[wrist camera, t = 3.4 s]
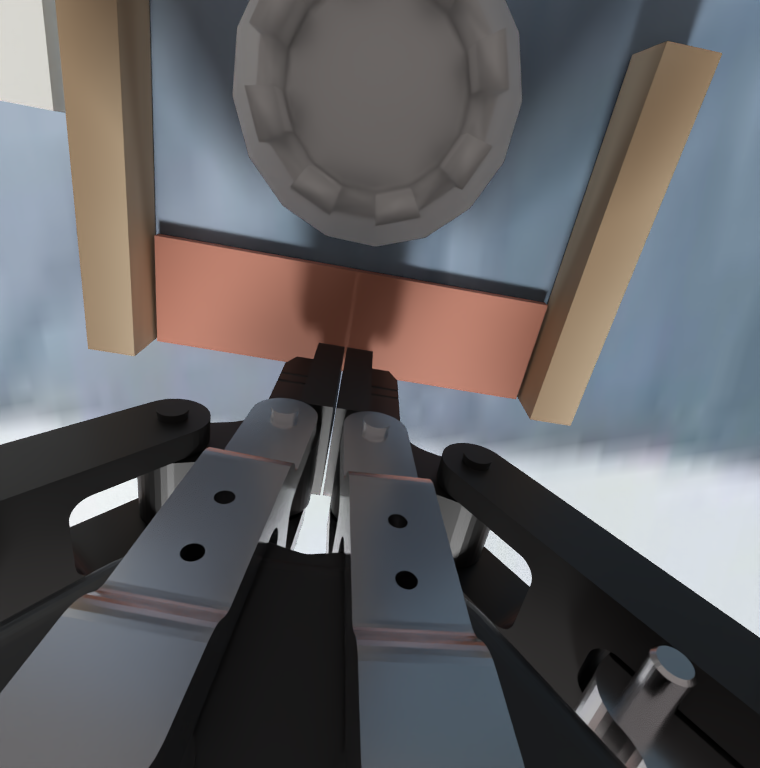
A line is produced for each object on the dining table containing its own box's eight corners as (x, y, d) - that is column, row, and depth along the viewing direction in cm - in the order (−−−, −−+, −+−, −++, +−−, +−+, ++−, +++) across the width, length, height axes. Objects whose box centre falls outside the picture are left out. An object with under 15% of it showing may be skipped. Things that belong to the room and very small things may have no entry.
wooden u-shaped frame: (680, 65, 11) (722, 53, 10) (553, 401, 15) (570, 425, 14) (90, -66, 10) (45, -99, 9) (116, 329, 14) (88, 348, 13)
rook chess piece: (282, 14, 11) (80, -271, 4) (479, 17, 11) (679, -258, 4) (294, 221, 13) (180, 311, 5) (462, 224, 13) (566, 317, 6)
